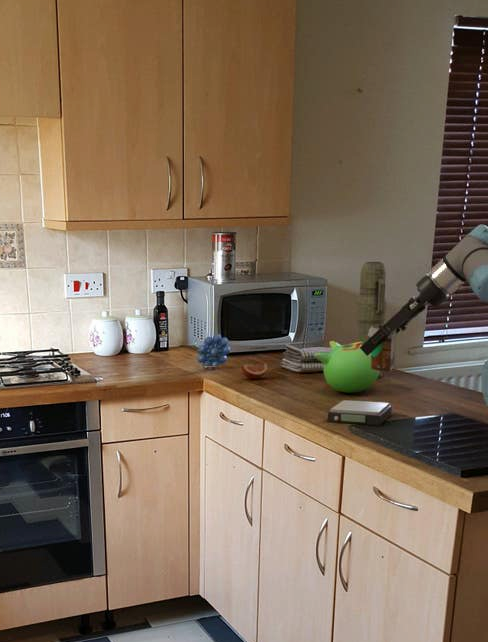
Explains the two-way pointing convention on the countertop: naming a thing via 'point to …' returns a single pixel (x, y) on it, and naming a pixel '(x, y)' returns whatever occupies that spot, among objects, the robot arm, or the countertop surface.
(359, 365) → the toy bird
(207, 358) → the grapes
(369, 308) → the thermos
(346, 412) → the kitchen scale
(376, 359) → the food container
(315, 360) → the towel
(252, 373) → the fruit slice
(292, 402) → the countertop surface
